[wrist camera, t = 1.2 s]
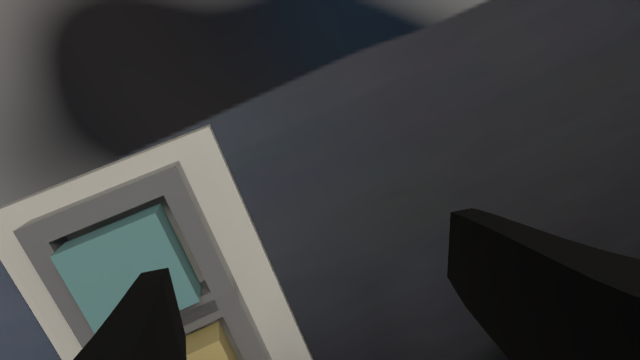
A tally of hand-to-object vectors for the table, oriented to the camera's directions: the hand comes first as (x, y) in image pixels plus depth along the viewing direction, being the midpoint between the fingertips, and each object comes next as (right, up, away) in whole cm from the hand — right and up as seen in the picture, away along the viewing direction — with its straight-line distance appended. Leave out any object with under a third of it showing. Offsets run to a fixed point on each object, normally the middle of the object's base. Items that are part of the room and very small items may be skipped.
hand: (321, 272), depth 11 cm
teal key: (-8, -2, +9) cm, 13 cm away
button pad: (-7, -7, +14) cm, 17 cm away
